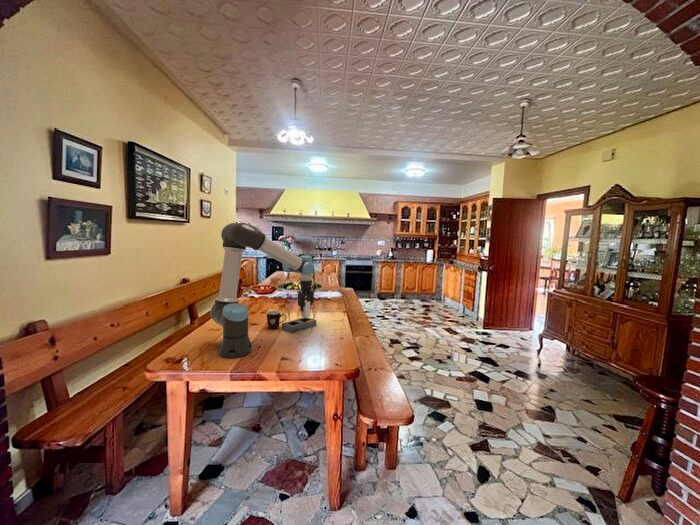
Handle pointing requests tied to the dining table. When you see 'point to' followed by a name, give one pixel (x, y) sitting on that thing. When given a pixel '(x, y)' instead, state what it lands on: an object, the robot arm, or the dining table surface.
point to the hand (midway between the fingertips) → (305, 315)
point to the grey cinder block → (298, 325)
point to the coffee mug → (274, 319)
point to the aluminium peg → (307, 308)
